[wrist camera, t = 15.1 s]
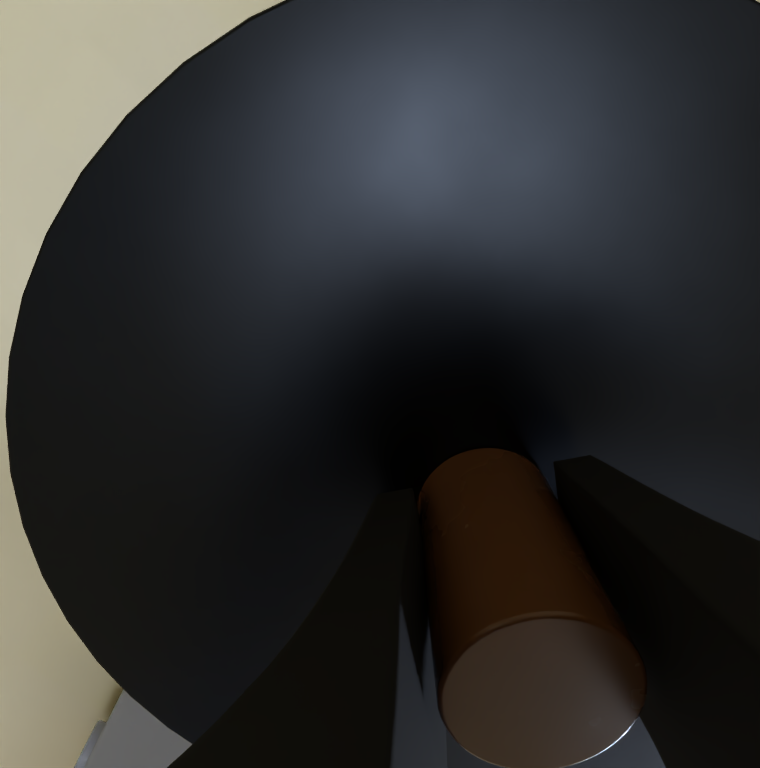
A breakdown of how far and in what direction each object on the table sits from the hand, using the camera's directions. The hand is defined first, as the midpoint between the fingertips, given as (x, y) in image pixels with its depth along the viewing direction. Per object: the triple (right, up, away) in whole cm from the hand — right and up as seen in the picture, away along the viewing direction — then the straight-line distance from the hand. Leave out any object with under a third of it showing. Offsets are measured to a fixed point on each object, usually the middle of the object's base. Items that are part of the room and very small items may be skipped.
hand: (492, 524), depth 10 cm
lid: (0, 0, +1) cm, 1 cm away
